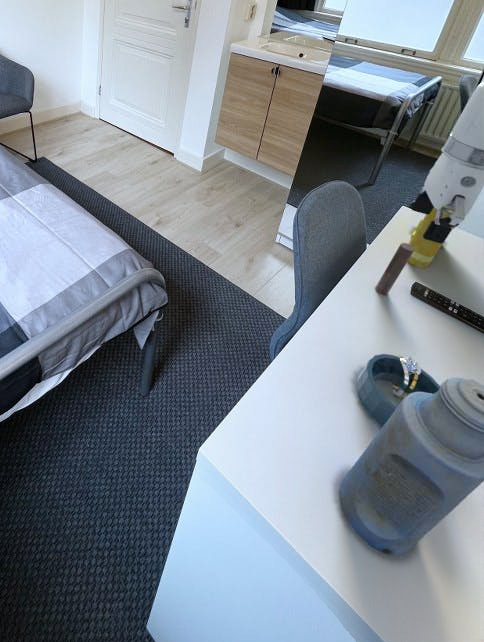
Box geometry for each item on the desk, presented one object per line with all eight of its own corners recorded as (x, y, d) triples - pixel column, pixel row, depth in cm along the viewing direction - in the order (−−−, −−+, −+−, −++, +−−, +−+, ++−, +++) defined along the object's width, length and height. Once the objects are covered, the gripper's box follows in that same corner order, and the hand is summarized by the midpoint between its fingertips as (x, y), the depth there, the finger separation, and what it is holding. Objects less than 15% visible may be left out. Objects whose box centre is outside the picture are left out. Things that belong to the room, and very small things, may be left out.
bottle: (323, 504, 62) (416, 383, 48) (354, 461, 68) (446, 342, 53) (392, 578, 56) (524, 464, 41) (421, 525, 61) (546, 408, 47)
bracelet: (403, 409, 76) (424, 383, 72) (383, 399, 77) (402, 372, 73) (402, 378, 81) (421, 352, 77) (383, 369, 82) (401, 343, 79)
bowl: (425, 391, 79) (440, 372, 76) (443, 460, 69) (462, 441, 66) (351, 362, 83) (363, 343, 80) (358, 423, 73) (372, 404, 70)
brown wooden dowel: (384, 292, 101) (413, 245, 93) (386, 300, 99) (415, 252, 91) (372, 288, 101) (399, 241, 94) (374, 295, 99) (402, 248, 92)
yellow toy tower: (414, 231, 123) (457, 158, 111) (441, 244, 118) (489, 170, 106) (398, 257, 112) (443, 179, 100) (427, 272, 108) (479, 193, 96)
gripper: (517, 180, 66) (462, 260, 75) (478, 136, 81) (436, 207, 89) (461, 167, 69) (413, 245, 77) (433, 126, 83) (395, 196, 91)
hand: (425, 225), depth 83 cm, fingers open, 9 cm apart
